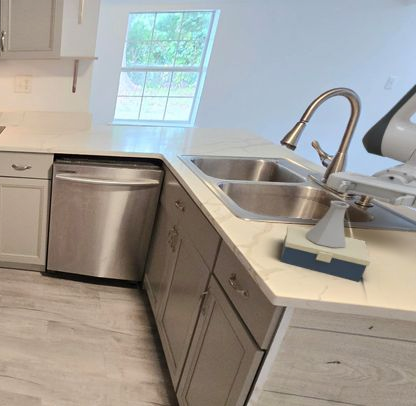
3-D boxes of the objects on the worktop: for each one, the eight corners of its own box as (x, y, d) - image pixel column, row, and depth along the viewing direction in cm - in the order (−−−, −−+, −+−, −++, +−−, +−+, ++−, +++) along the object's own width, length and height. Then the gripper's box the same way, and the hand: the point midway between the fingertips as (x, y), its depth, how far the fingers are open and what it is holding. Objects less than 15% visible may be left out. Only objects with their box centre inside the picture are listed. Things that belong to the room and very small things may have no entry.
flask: (313, 246, 86) (328, 207, 82) (299, 232, 92) (313, 196, 88) (352, 250, 83) (369, 211, 80) (335, 236, 90) (350, 198, 86)
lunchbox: (355, 260, 90) (364, 240, 88) (360, 283, 81) (370, 262, 79) (281, 242, 98) (288, 224, 96) (279, 262, 90) (286, 242, 88)
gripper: (346, 163, 101) (319, 171, 96) (459, 185, 84) (434, 196, 79) (337, 184, 103) (311, 193, 98) (446, 210, 86) (421, 222, 81)
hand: (366, 195), depth 88 cm, fingers open, 8 cm apart
